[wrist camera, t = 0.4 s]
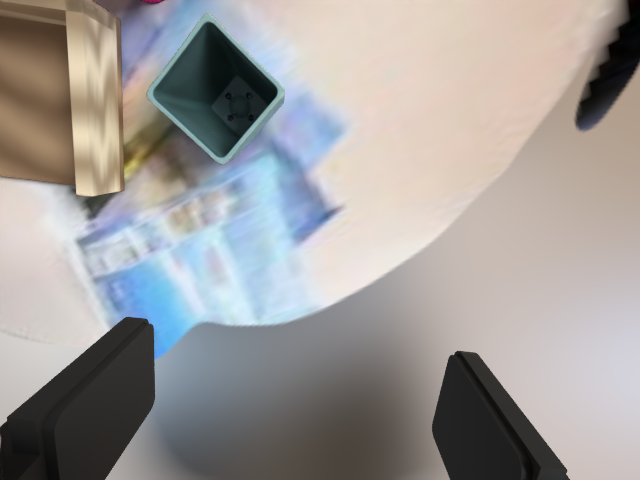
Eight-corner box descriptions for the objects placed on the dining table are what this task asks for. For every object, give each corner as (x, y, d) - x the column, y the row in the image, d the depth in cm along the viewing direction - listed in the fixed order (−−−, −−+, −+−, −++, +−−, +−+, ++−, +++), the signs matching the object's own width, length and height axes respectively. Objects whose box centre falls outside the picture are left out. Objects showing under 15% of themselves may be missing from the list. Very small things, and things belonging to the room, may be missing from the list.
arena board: (-56, -6, 34) (-64, -10, 33) (120, 19, 35) (115, 16, 34) (-31, 170, 39) (-38, 170, 38) (124, 190, 39) (120, 191, 38)
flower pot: (184, 108, 37) (142, 94, 28) (234, 44, 35) (206, 9, 26) (244, 164, 38) (221, 167, 30) (295, 105, 37) (287, 90, 28)
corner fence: (-64, -10, 33) (-130, -38, 28) (115, 16, 34) (81, -7, 29) (-38, 170, 38) (-91, 173, 33) (120, 191, 38) (91, 196, 33)
